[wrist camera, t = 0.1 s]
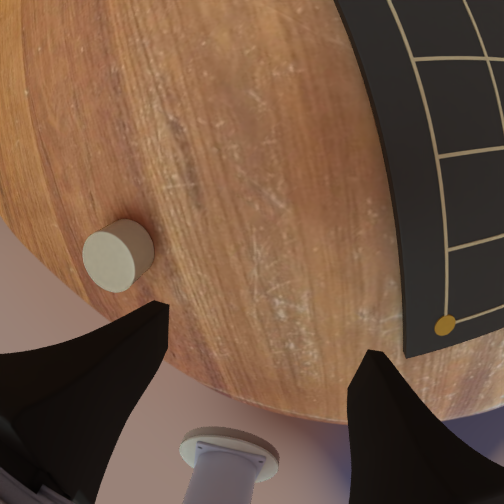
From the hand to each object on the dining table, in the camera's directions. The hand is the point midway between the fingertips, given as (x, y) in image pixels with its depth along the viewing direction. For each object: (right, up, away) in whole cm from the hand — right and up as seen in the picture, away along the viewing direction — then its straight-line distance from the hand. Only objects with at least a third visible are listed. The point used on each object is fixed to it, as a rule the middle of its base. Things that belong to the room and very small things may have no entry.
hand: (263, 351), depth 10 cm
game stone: (-10, +4, +11) cm, 15 cm away
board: (+26, +13, +1) cm, 30 cm away
